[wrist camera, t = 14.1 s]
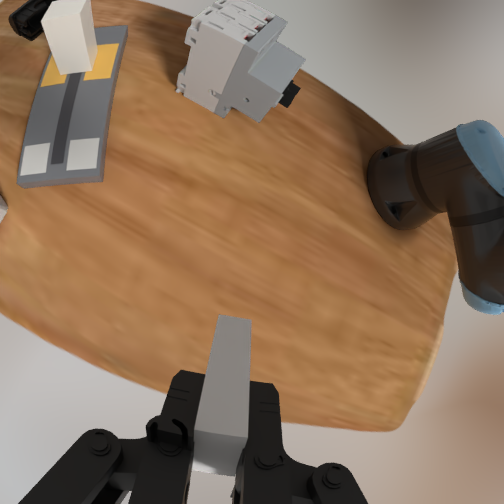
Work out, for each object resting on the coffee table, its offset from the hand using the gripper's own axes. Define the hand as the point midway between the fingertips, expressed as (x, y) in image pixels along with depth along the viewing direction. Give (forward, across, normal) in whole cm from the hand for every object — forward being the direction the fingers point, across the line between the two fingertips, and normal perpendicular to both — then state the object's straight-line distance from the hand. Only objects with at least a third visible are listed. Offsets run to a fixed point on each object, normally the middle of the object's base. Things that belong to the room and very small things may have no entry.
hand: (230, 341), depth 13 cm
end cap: (+28, -44, +32) cm, 61 cm away
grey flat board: (+24, -27, +14) cm, 39 cm away
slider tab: (+24, -28, +20) cm, 42 cm away
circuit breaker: (+32, -6, +17) cm, 36 cm away
